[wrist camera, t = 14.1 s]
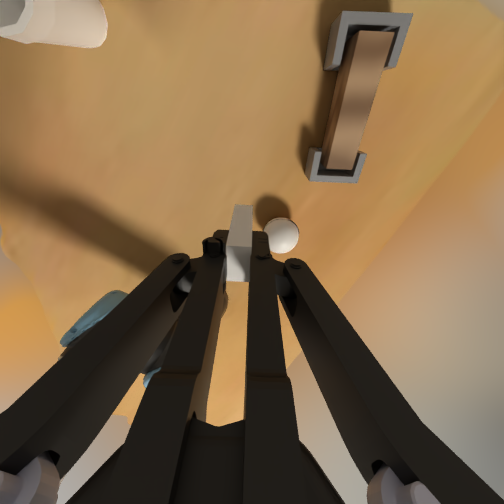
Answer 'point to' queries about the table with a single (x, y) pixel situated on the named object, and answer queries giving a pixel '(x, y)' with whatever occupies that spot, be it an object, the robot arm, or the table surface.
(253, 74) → the table surface
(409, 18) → the cap
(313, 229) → the table surface
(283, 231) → the ball
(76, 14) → the foam cup
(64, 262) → the table surface
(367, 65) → the slat
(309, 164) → the cap
